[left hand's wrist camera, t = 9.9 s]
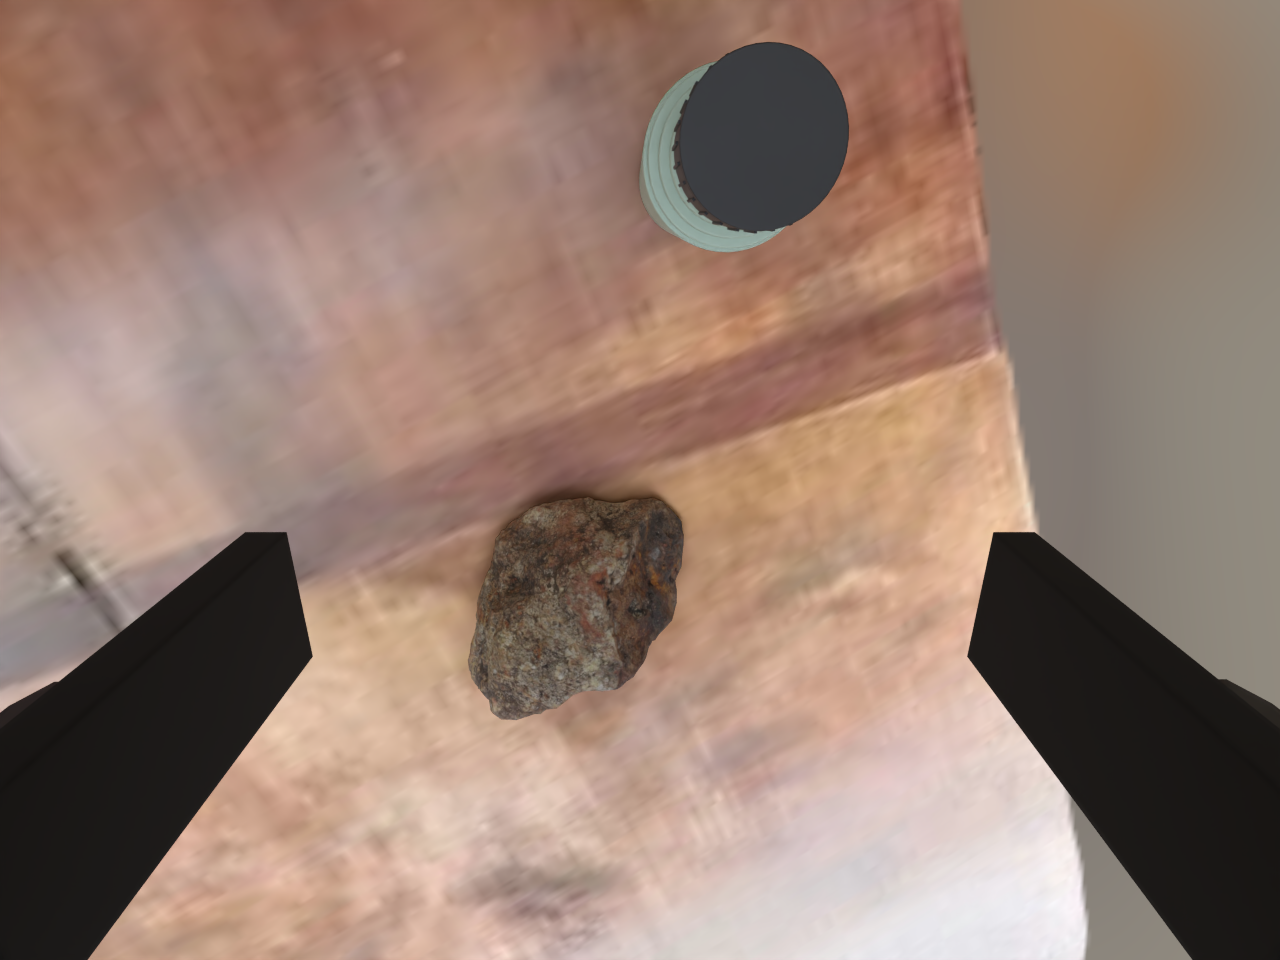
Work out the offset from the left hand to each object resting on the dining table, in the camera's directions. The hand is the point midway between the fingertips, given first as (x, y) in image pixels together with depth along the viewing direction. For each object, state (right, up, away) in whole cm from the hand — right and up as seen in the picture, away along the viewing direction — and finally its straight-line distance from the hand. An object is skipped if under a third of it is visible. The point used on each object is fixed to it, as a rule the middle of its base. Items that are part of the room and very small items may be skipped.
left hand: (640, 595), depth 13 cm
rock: (-4, -3, +30) cm, 31 cm away
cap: (+3, +10, +3) cm, 11 cm away
